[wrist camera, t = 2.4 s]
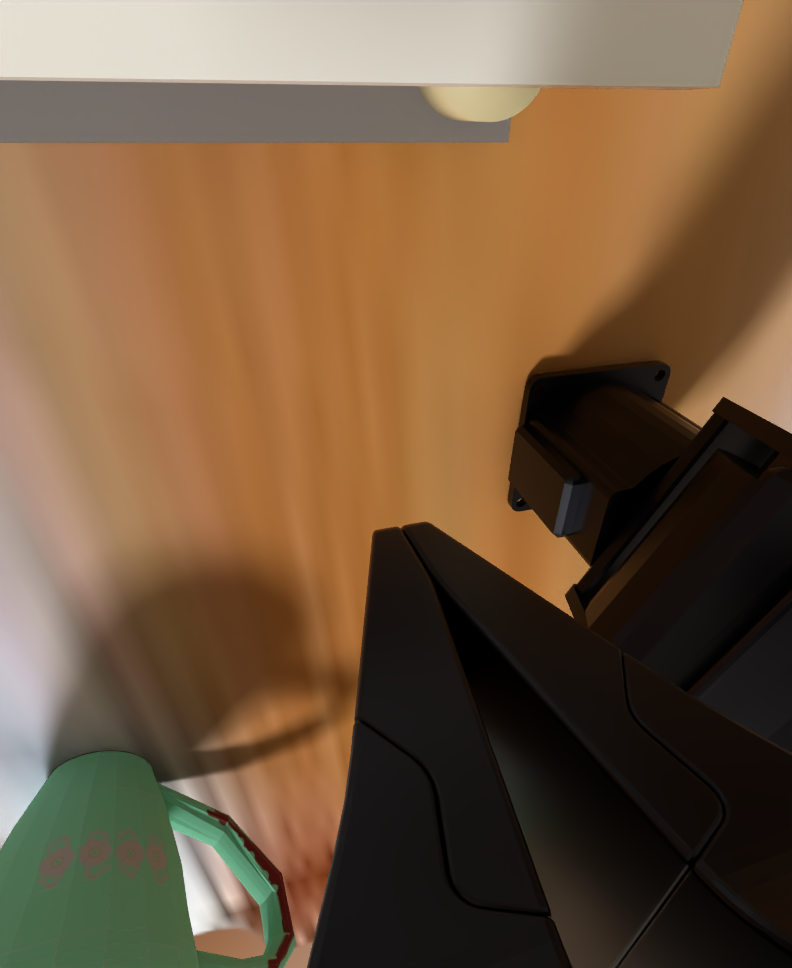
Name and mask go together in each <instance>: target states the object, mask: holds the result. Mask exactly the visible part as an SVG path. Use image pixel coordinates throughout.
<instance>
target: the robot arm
mask: <svg viewBox="0 0 792 968" xmlns="http://www.w3.org/2000/svg"><path fill="white" fill-rule="evenodd" d="M658 371H659V372H658ZM657 372H658V374H657V375H656V376H655V374H656V373H657ZM669 376H670V367H669V366H668V365H667V364H665V363H663V362H661V361H649V362H640V363H631V364H622V365H613V366H604V367H595V368H586V369H577V370H568V371H559V372H550V373H541V374H536V375H533V376H532V377H531V378H529V380H528V381H527V382H526V385H525V390H524V396H523V403H522V409H521V415H520V422H519V426H518V428H517V430H516V432H515V438H514V444H513V451H512V457H511V464H510V471H509V477H508V479H509V481H510V487H509V493H508V503H509V505H510V506H511V507H512V509H513V510H515V511H525V510H531V509H533V510H534V512H535V513H536V514H537V515H538V517H539V518H540V519H541V520H542V521H543V523H544V524H545V525H546V526H547V528H548V529H549V530H550V531H551V532H552V533H553V534H554V535H555V536H556V537H558V538H559V537H564V536H565V537H566V539H567V540H568V541H569V542H570V543H571V545H572V546H573V547H574V548H575V549H576V550H577V552H578V553H579V554H580V555H581V556H582V558H583V559H584V560H585V561H586V562H587V564H588V565H589V566H590V568H589V570H588V571H587V572H586V573H585V575H584V576H583V577H582V578H581V580H580V581H579V582H578V583H577V584H573V586H572V587H571V588H570V589H569V591H568V592H567V593H566V594H565V597H566V600H567V602H568V605H569V607H570V610H571V612H572V614H573V617H574V618H572V617H571V616H569V615H568V614H566V613H565V612H563V611H562V610H560V609H559V608H557V607H556V606H554V605H553V604H551V603H550V602H548V601H547V600H545V599H544V598H542V597H541V596H539V595H538V594H536V593H535V592H533V591H532V590H530V589H529V588H527V587H526V586H524V585H523V584H521V583H520V582H518V581H517V580H515V579H514V578H512V577H511V576H509V575H508V574H506V573H505V572H503V571H502V570H500V569H499V568H497V567H496V566H494V565H492V564H491V563H489V562H488V561H486V560H485V559H483V558H482V557H480V556H479V555H477V554H476V553H474V552H473V551H471V550H470V549H468V548H467V547H465V546H464V545H462V544H461V543H459V542H458V541H456V540H455V539H453V538H452V537H450V536H449V535H447V534H446V533H444V532H443V531H441V530H440V529H438V528H437V527H435V526H434V525H432V524H431V523H428V522H420V523H414V524H408V525H404V526H403V527H402V528H399V527H391V528H385V529H379V530H375V531H374V532H373V536H372V545H371V555H370V566H369V576H368V586H367V596H366V606H365V617H364V627H363V637H362V647H361V657H360V668H359V678H358V688H357V698H356V708H355V724H354V726H353V735H352V745H351V756H350V763H349V770H348V778H347V785H346V792H345V800H344V805H343V810H342V815H341V820H340V825H339V830H338V835H337V840H336V845H335V850H334V854H333V859H332V863H331V868H330V872H329V876H328V880H327V885H326V889H325V893H324V897H323V902H322V906H321V910H320V914H319V919H318V923H317V927H316V931H315V936H314V940H313V944H312V948H311V953H310V957H309V961H308V965H307V968H792V434H791V433H789V432H787V431H785V430H784V429H782V428H780V427H778V426H776V425H774V424H773V423H771V422H769V421H767V420H765V419H763V418H762V417H760V416H758V415H756V414H754V413H752V412H750V411H749V410H747V409H745V408H743V407H741V406H739V405H738V404H736V403H734V402H732V401H730V400H728V399H726V398H725V397H723V398H722V399H721V400H720V402H719V403H718V404H717V405H716V407H715V408H714V409H713V410H712V411H713V412H714V414H713V415H712V416H711V418H710V419H709V420H708V421H707V423H706V424H705V425H704V426H703V428H702V427H700V426H699V425H697V424H696V423H694V422H692V421H691V420H689V419H688V418H686V417H685V416H683V415H681V414H680V413H678V412H677V411H675V410H674V409H672V408H670V407H669V406H667V405H666V404H664V403H663V402H661V401H662V398H663V395H664V392H665V389H666V385H667V382H668V379H669ZM540 384H542V386H541V388H540V389H539V390H538V391H535V390H536V387H537V386H538V385H540ZM521 498H522V499H521ZM519 499H521V500H520V501H518V500H519ZM517 501H518V502H517Z"/></svg>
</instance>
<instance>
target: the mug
mask: <svg viewBox="0 0 792 968" xmlns="http://www.w3.org/2000/svg"><path fill="white" fill-rule="evenodd" d="M172 829H174V830H176V831H178V832H181V833H183V834H185V835H187V836H190V837H192V838H194V839H197V840H199V841H201V842H204V843H206V844H208V845H211V846H213V848H214V849H215V850H216V851H217V853H218V854H219V855H220V856H221V858H222V859H223V860H224V861H225V863H226V864H227V865H228V866H229V868H230V869H231V870H232V872H233V873H234V874H235V875H236V877H237V878H238V879H239V880H240V882H241V883H242V884H243V885H244V887H245V888H246V889H247V890H248V892H249V893H250V894H251V895H252V897H253V898H254V899H255V900H256V902H257V903H258V904H259V905H260V912H261V919H262V925H263V932H264V939H265V946H266V949H265V952H264V955H262V956H256V957H251V958H246V959H238V958H233V957H228V956H223V955H218V954H213V953H207V952H203V951H198V950H196V947H195V942H194V937H193V932H192V927H191V922H190V918H189V913H188V907H187V899H186V892H185V885H184V878H183V870H182V864H181V860H180V856H179V853H178V849H177V845H176V841H175V838H174V834H173V830H172ZM295 945H296V941H295V935H294V931H293V926H292V921H291V916H290V912H289V907H288V902H287V897H286V892H285V887H284V882H283V877H282V873H281V872H280V871H279V870H278V869H277V868H276V867H275V865H274V864H273V863H272V862H271V861H270V860H269V859H268V858H267V857H266V856H265V855H264V853H263V852H262V851H261V850H260V849H259V848H258V847H257V846H256V845H255V844H254V842H253V841H252V840H251V839H250V838H249V837H248V836H247V835H246V834H245V833H244V831H243V830H242V829H241V828H240V827H239V826H238V825H237V824H236V823H235V822H234V821H233V819H232V818H231V817H230V816H229V815H227V814H225V813H222V812H220V811H218V810H216V809H214V808H211V807H209V806H207V805H205V804H203V803H201V802H198V801H196V800H194V799H192V798H190V797H187V796H185V795H183V794H181V793H179V792H176V791H174V790H172V789H170V788H168V787H166V786H163V785H161V784H159V783H157V781H156V778H155V775H154V773H153V770H152V767H151V765H150V764H149V763H148V762H147V761H146V760H145V759H144V758H142V757H139V756H137V755H135V754H132V753H127V752H120V751H100V752H95V753H90V754H84V755H81V756H79V757H76V758H73V759H71V760H68V761H66V762H65V763H63V764H62V765H60V766H59V767H57V768H56V769H55V770H54V771H53V773H52V774H51V775H50V776H49V778H48V779H47V780H46V782H45V783H44V785H43V786H42V788H41V789H40V791H39V792H38V793H37V795H36V796H35V798H34V799H33V801H32V802H31V804H30V805H29V806H28V808H27V809H26V811H25V812H24V814H23V815H22V816H21V818H20V819H19V821H18V822H17V824H16V825H15V827H14V828H13V830H12V831H11V833H10V835H9V836H8V838H7V840H6V841H5V843H4V845H3V846H2V848H1V850H0V968H284V967H285V965H286V963H287V961H288V959H289V957H290V956H291V954H292V952H293V950H294V948H295Z"/></svg>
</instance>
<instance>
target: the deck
mask: <svg viewBox="0 0 792 968" xmlns="http://www.w3.org/2000/svg"><path fill="white" fill-rule="evenodd" d="M742 3H743V0H0V80H28V81H98V82H167V83H236V84H305V85H375V86H444V87H513V88H582V89H652V90H691V89H704V88H718V87H719V86H720V82H721V79H722V75H723V72H724V68H725V64H726V61H727V57H728V54H729V50H730V46H731V43H732V39H733V36H734V32H735V28H736V25H737V21H738V18H739V14H740V11H741V7H742Z"/></svg>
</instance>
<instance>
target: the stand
mask: <svg viewBox="0 0 792 968" xmlns="http://www.w3.org/2000/svg"><path fill="white" fill-rule="evenodd" d="M540 89H541V88H513V87H444V86H375V85H305V84H236V83H167V82H98V81H28V80H0V143H295V142H508V139H509V129H510V120H511V117H513V116H514V115H516V114H518V113H519V112H521V111H522V110H523V109H524V108H526V107H527V106H528V105H529V104H530V103H531V102H532V100H533V99H534V98H535V97H536V95H537V94H538V92H539V91H540Z"/></svg>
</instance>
